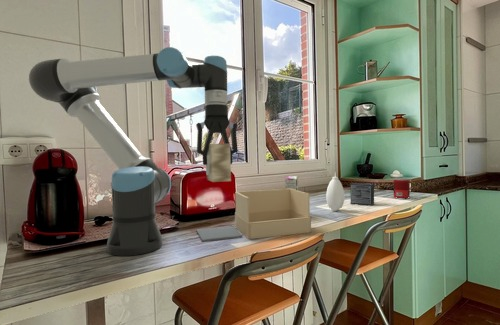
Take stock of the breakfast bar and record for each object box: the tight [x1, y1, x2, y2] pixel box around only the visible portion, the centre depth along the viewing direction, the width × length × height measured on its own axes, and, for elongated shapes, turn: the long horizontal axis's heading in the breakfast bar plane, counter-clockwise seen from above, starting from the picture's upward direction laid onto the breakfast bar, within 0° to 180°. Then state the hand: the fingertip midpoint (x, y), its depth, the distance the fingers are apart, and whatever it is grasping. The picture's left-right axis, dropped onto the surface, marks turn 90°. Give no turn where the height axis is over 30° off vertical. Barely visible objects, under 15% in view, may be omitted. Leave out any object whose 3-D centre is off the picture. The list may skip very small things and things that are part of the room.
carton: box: [234, 188, 312, 240], centre depth 106 cm, size 23×16×13 cm
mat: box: [196, 225, 243, 243], centre depth 101 cm, size 13×13×1 cm
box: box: [206, 143, 232, 183], centre depth 100 cm, size 6×10×12 cm, turn 18°
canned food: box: [393, 177, 411, 199], centre depth 168 cm, size 8×8×11 cm
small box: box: [350, 182, 375, 206], centre depth 151 cm, size 11×6×10 cm, turn 58°
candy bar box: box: [285, 175, 299, 191], centre depth 128 cm, size 11×5×16 cm, turn 168°
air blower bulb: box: [325, 171, 345, 212], centre depth 136 cm, size 8×8×18 cm
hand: (217, 174), depth 100 cm, fingers closed on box, 6 cm apart
